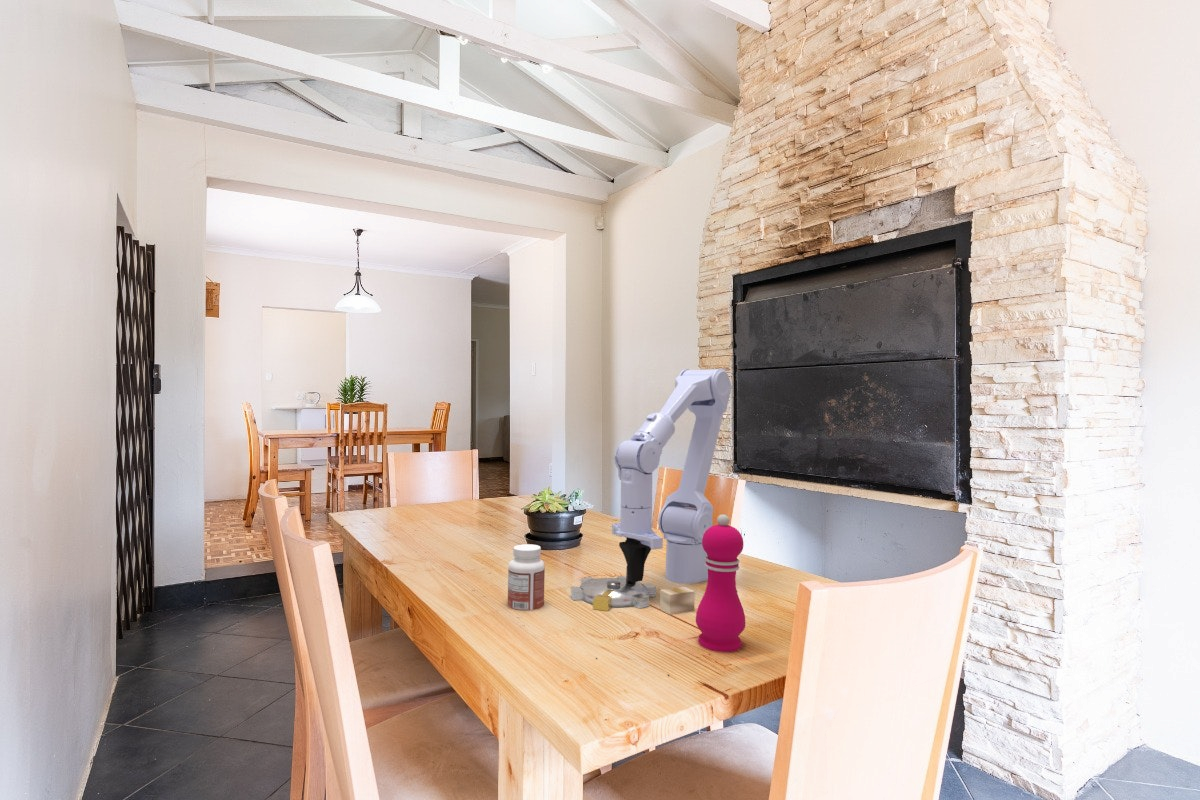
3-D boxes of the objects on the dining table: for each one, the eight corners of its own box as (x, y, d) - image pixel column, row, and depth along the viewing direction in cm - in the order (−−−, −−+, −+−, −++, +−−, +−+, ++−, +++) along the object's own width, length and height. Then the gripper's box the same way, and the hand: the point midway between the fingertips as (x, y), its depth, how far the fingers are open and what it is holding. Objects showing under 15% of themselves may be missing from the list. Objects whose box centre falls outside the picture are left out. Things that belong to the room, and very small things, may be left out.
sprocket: (588, 581, 123) (589, 557, 123) (660, 589, 119) (661, 564, 119) (560, 604, 108) (561, 577, 108) (641, 615, 104) (642, 586, 104)
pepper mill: (734, 664, 88) (738, 520, 88) (686, 652, 92) (690, 514, 92) (751, 648, 94) (755, 514, 94) (706, 637, 98) (709, 508, 98)
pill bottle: (536, 604, 112) (538, 541, 112) (549, 615, 106) (551, 549, 106) (502, 608, 109) (504, 544, 109) (513, 620, 103) (515, 552, 104)
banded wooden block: (683, 606, 110) (684, 586, 110) (694, 612, 107) (694, 591, 107) (659, 610, 107) (660, 589, 107) (669, 616, 105) (670, 594, 105)
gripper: (598, 501, 120) (597, 573, 120) (638, 514, 107) (637, 594, 107) (630, 499, 123) (629, 569, 123) (673, 511, 110) (672, 589, 110)
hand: (635, 580), depth 115 cm, fingers closed, pressing on sprocket
